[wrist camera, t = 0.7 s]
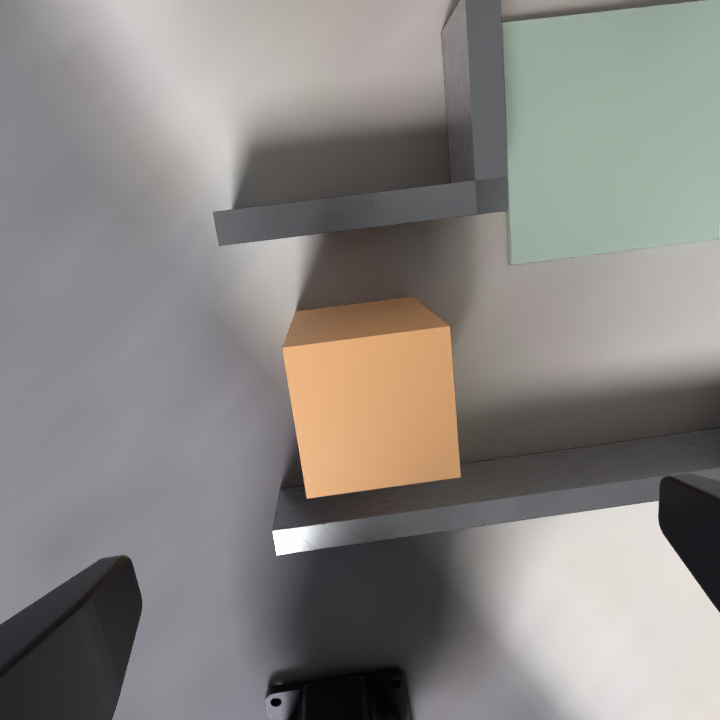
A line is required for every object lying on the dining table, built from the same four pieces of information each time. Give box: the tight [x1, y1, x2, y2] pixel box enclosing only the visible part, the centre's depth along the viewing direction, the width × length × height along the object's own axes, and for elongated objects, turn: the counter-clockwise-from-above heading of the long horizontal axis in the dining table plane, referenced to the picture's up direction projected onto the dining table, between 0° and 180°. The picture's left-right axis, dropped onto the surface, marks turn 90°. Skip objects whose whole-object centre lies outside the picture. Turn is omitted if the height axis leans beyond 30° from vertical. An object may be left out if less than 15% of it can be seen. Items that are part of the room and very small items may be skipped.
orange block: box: [282, 296, 461, 499], centre depth 17 cm, size 4×4×6 cm
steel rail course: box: [213, 0, 720, 555], centre depth 18 cm, size 17×20×3 cm
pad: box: [501, 0, 720, 265], centre depth 18 cm, size 8×8×1 cm
